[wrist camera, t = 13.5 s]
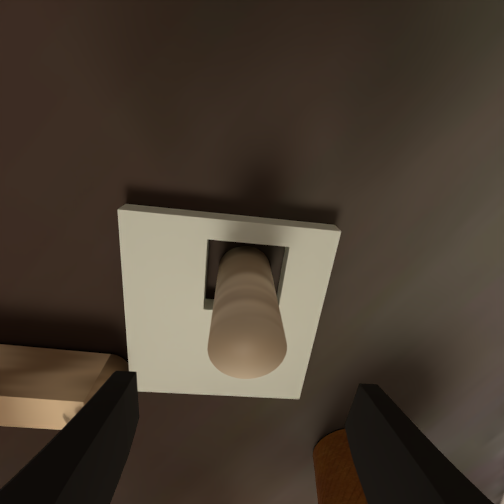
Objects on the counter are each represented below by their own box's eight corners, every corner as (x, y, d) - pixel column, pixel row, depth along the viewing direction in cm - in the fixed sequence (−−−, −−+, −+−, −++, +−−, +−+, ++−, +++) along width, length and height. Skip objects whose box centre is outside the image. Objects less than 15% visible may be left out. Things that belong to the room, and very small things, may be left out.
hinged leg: (130, 353, 20) (101, 413, 16) (130, 379, 21) (103, 442, 17) (-44, 337, 19) (-124, 397, 15) (-35, 366, 20) (-109, 429, 16)
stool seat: (125, 203, 16) (117, 209, 15) (334, 224, 17) (341, 231, 16) (136, 377, 21) (130, 390, 20) (296, 385, 22) (299, 399, 21)
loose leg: (219, 244, 17) (206, 316, 11) (272, 246, 17) (291, 317, 11) (218, 290, 18) (207, 378, 12) (267, 292, 19) (283, 378, 12)
